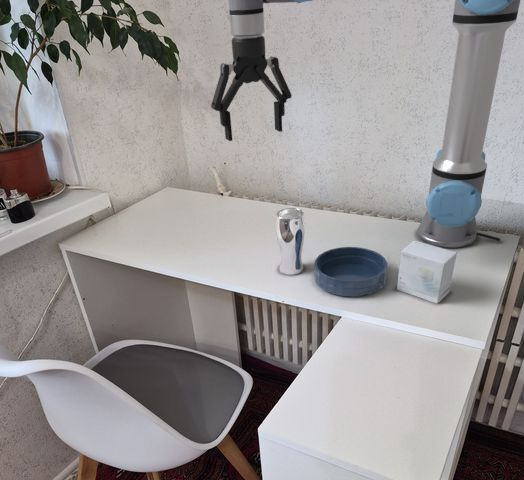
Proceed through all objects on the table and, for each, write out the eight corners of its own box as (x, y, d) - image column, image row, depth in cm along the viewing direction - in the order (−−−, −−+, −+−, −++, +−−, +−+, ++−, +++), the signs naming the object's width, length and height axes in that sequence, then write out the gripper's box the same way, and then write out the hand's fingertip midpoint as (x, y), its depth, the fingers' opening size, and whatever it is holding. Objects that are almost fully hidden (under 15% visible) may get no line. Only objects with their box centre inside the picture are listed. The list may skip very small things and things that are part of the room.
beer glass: (302, 276, 127) (302, 219, 118) (275, 275, 128) (273, 218, 119) (306, 263, 132) (306, 207, 123) (280, 262, 134) (278, 207, 124)
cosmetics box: (395, 290, 119) (400, 249, 113) (409, 279, 123) (414, 239, 117) (437, 304, 114) (444, 262, 107) (450, 292, 117) (458, 251, 111)
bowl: (385, 264, 130) (387, 248, 127) (385, 300, 116) (387, 283, 114) (318, 261, 133) (318, 245, 130) (310, 296, 119) (310, 279, 117)
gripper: (289, 28, 121) (291, 123, 134) (190, 40, 113) (202, 139, 126) (304, 31, 115) (305, 129, 128) (201, 44, 108) (212, 147, 121)
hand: (254, 135), depth 127 cm, fingers open, 13 cm apart
